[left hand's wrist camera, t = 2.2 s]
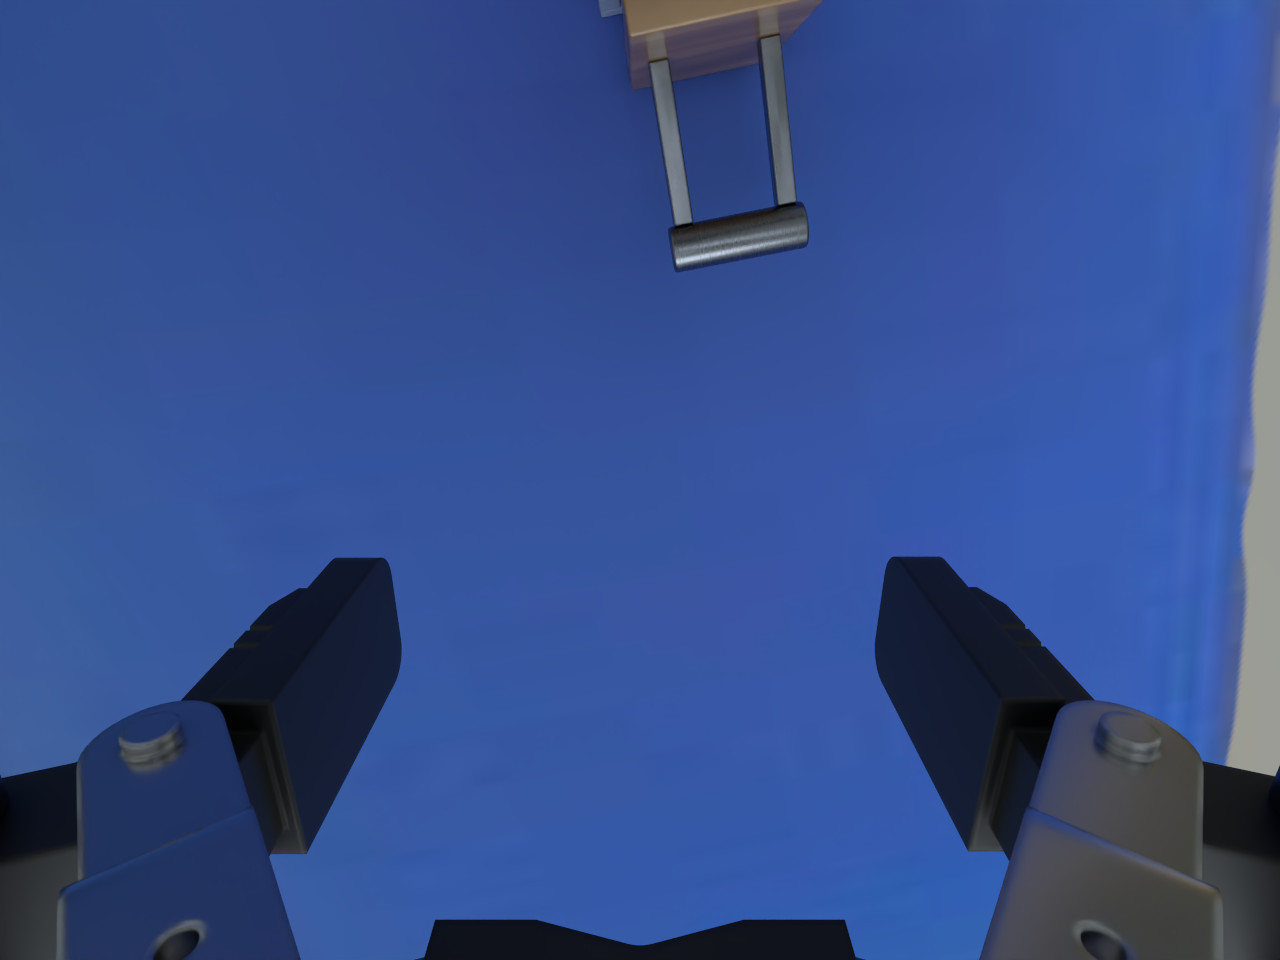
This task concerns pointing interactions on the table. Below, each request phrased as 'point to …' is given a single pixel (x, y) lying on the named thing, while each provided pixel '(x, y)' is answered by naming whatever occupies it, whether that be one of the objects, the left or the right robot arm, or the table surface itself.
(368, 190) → the table surface
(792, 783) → the table surface
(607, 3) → the cabinet
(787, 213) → the drawer
